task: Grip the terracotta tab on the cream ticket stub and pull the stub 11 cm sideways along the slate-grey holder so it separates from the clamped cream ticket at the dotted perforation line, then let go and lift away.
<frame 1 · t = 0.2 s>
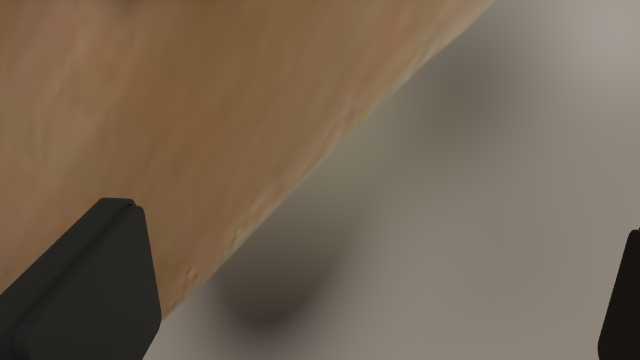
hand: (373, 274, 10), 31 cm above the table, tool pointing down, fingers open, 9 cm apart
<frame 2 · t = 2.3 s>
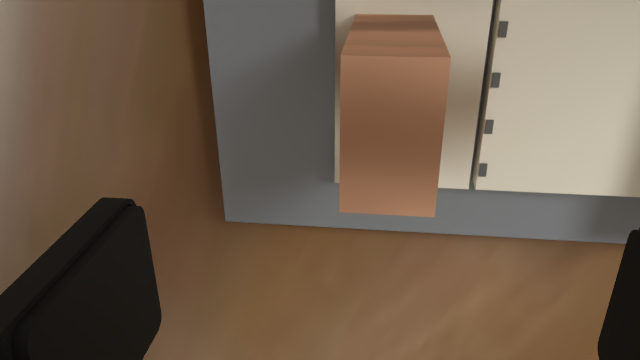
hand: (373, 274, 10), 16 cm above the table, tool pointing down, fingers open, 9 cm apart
holder: (504, 64, 24), on the table
stub: (410, 100, 19), point 6 cm above the table, slide at 0.0 cm
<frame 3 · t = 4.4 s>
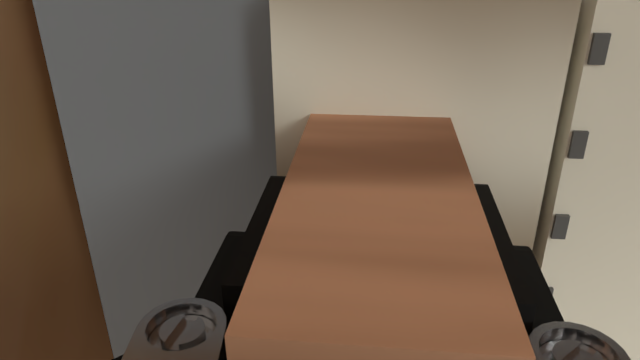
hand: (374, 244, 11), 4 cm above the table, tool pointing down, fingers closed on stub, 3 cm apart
holder: (562, 180, 14), on the table
stub: (411, 302, 10), point 6 cm above the table, slide at 0.0 cm, touching gripper
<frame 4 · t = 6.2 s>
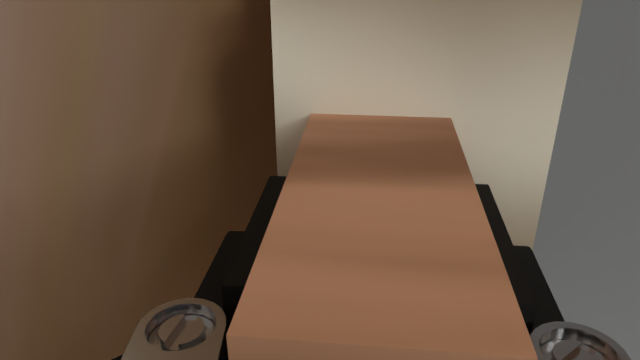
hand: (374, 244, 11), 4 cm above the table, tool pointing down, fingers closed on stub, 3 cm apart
stub: (411, 302, 10), point 6 cm above the table, slide at 5.8 cm, touching gripper
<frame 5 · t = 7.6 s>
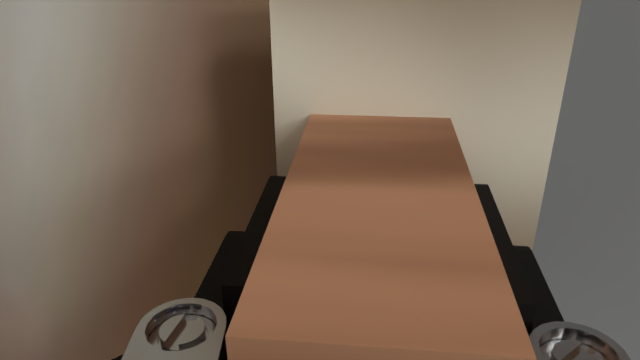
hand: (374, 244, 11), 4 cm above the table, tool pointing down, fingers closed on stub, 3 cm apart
stub: (411, 302, 10), point 6 cm above the table, slide at 10.9 cm, touching gripper
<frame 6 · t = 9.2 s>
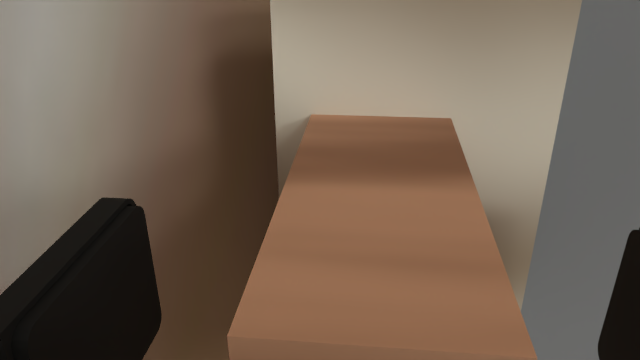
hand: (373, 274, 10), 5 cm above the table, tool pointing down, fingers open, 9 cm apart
stub: (412, 302, 10), point 6 cm above the table, slide at 11.0 cm
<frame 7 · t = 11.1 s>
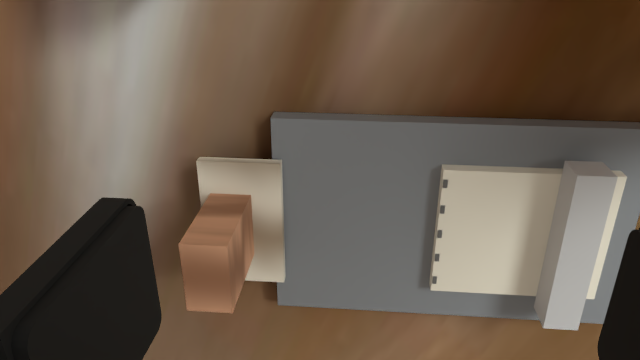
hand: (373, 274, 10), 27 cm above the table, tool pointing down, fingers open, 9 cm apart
holder: (446, 217, 40), on the table
stub: (232, 246, 37), point 6 cm above the table, slide at 11.0 cm
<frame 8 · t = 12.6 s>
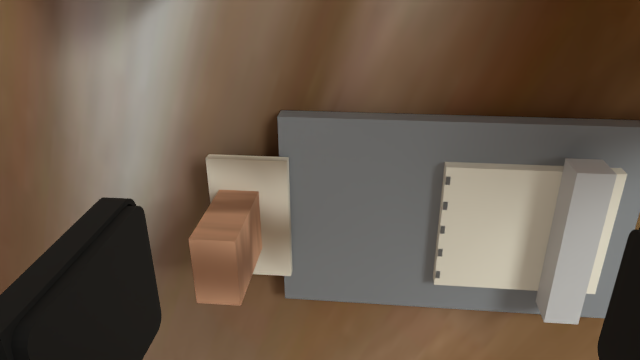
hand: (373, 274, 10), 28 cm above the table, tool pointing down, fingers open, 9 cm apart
holder: (449, 213, 41), on the table
stub: (240, 241, 38), point 6 cm above the table, slide at 11.0 cm
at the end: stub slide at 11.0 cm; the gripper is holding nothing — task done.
